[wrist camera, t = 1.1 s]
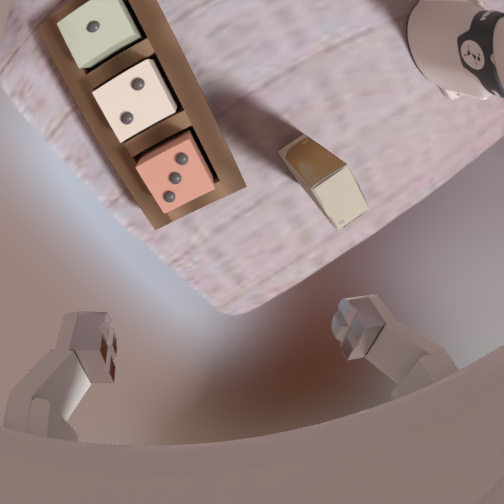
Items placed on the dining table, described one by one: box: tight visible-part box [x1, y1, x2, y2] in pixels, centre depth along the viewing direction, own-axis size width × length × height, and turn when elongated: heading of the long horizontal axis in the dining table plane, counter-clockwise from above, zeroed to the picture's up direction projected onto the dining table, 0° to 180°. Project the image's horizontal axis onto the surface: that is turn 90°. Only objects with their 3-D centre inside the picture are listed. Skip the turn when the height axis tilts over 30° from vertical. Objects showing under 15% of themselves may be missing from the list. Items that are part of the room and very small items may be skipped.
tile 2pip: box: [92, 59, 178, 143], centre depth 24 cm, size 6×6×5 cm
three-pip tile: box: [135, 129, 215, 214], centre depth 30 cm, size 6×6×5 cm
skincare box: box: [278, 134, 369, 231], centre depth 32 cm, size 6×4×12 cm
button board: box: [38, 0, 247, 230], centre depth 26 cm, size 12×29×4 cm, turn 21°
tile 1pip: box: [57, 0, 143, 68], centre depth 19 cm, size 6×6×5 cm
